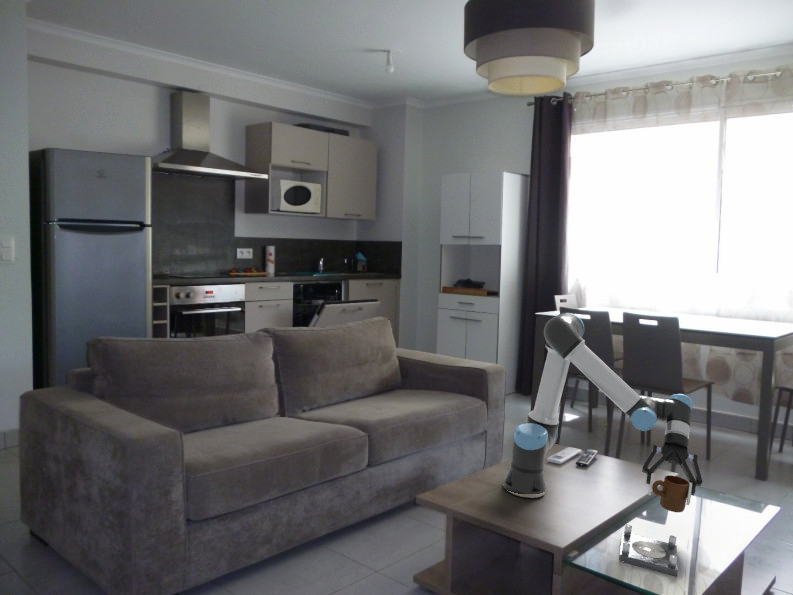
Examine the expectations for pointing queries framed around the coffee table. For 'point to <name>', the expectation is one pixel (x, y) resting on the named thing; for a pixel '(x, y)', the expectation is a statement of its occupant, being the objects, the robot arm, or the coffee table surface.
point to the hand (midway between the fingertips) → (668, 498)
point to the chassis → (649, 552)
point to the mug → (672, 493)
